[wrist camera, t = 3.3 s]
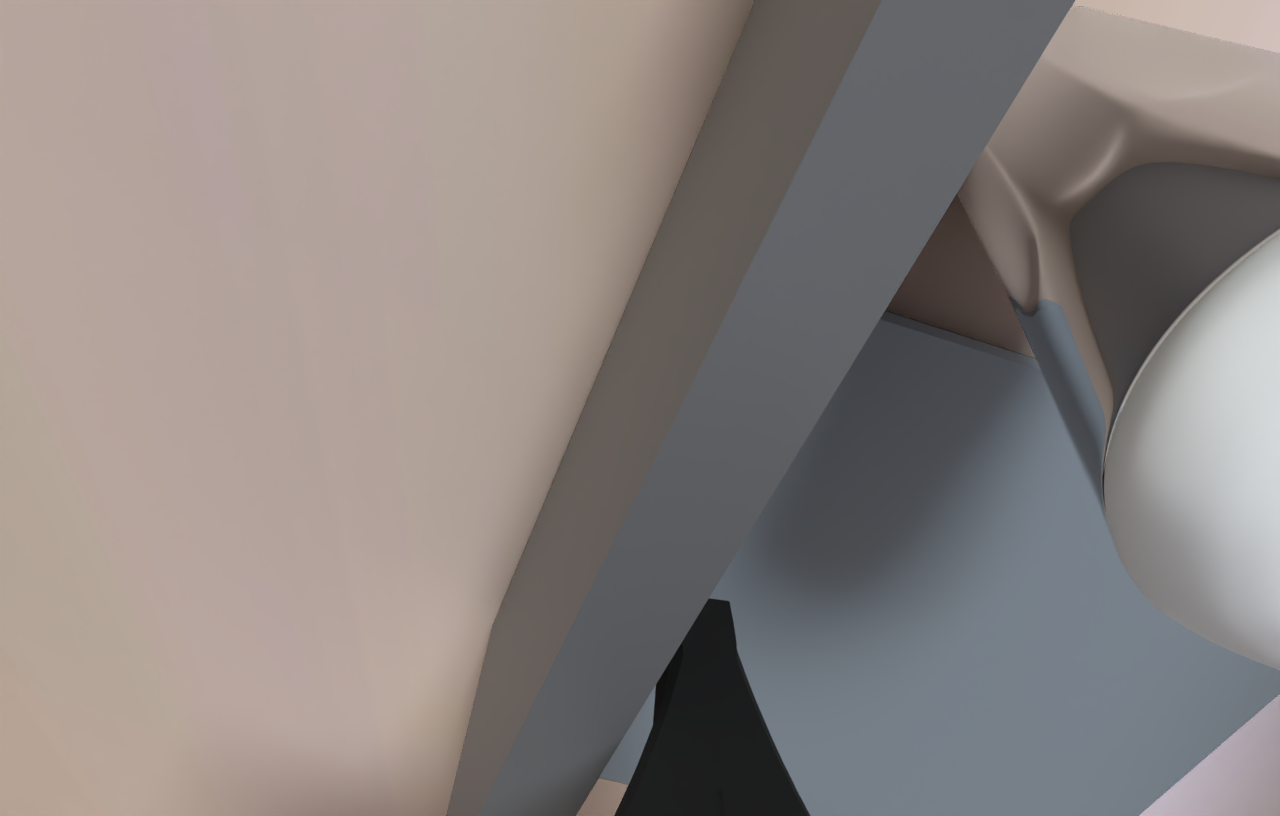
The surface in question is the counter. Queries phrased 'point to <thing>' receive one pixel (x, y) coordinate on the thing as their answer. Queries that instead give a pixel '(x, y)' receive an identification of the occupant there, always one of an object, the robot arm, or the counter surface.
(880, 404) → the mat
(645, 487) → the grey rectangular panel
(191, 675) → the counter surface
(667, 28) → the counter surface
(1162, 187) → the milkshake
